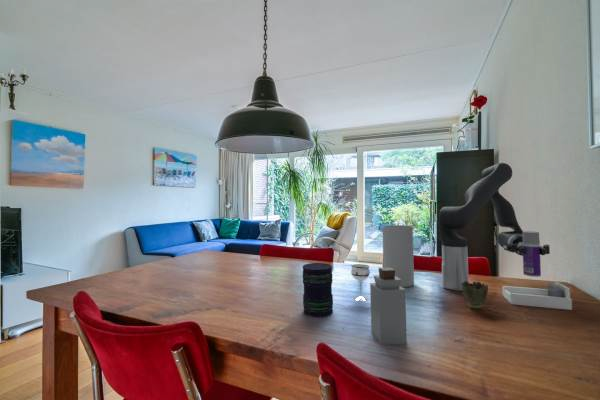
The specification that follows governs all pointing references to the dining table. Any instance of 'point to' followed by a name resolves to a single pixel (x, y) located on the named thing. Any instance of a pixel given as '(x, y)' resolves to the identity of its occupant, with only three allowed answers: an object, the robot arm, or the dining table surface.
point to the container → (531, 254)
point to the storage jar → (317, 289)
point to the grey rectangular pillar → (399, 252)
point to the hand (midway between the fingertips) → (533, 251)
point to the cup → (475, 294)
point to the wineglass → (360, 277)
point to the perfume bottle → (388, 308)
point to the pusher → (554, 291)
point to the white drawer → (538, 297)
